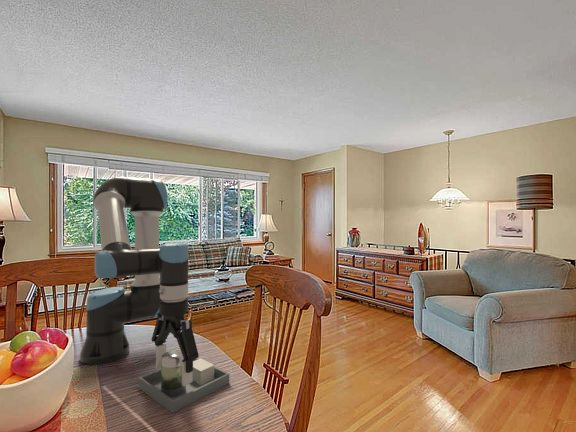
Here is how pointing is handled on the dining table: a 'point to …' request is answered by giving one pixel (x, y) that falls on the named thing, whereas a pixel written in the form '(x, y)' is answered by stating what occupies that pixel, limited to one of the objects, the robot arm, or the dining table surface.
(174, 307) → the robot arm
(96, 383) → the dining table surface
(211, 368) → the cream rectangular block
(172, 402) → the tray
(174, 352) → the tin can
